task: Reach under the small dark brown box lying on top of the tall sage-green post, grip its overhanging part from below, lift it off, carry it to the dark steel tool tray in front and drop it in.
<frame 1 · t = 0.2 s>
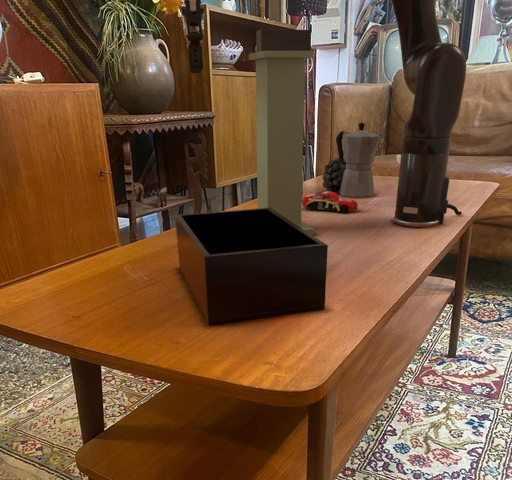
hand: (196, 72, 93), 29 cm above the table, tool pointing down, fingers open, 8 cm apart
pill bottle: (292, 201, 133), on the table
rabbit: (416, 203, 129), on the table
dark brown box: (279, 52, 92), point 32 cm above the table, touching post
coffeepot: (353, 194, 140), on the table
fruit: (333, 191, 146), on the table
post: (278, 230, 106), on the table
tool tray: (244, 287, 76), on the table
race car: (329, 210, 123), on the table
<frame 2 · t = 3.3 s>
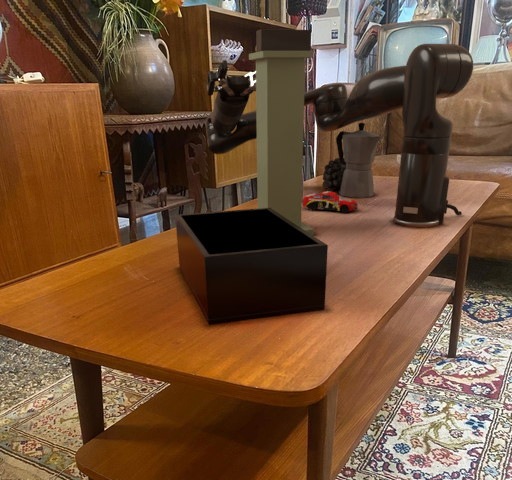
hand: (244, 64, 113), 31 cm above the table, tool pointing upward, fingers open, 8 cm apart
nothing on the table moved.
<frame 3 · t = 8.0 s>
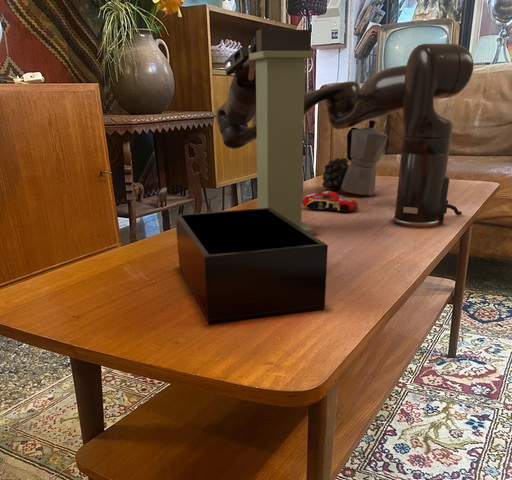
hand: (267, 38, 97), 35 cm above the table, tool pointing upward, fingers closed on dark brown box, 2 cm apart
dark brown box: (279, 52, 92), point 32 cm above the table, touching gripper, post
coffeepot: (354, 192, 140), point 1 cm above the table, touching arm
everything else where it was.
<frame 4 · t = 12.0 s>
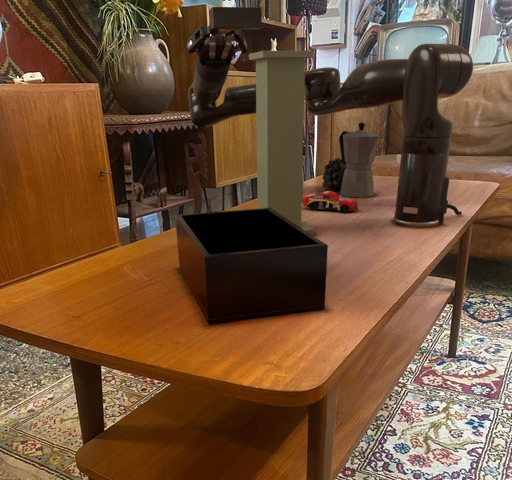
hand: (224, 17, 102), 39 cm above the table, tool pointing upward, fingers closed on dark brown box, 2 cm apart
dark brown box: (233, 29, 97), point 36 cm above the table, touching gripper
coffeepot: (354, 194, 141), on the table
everything else where it was.
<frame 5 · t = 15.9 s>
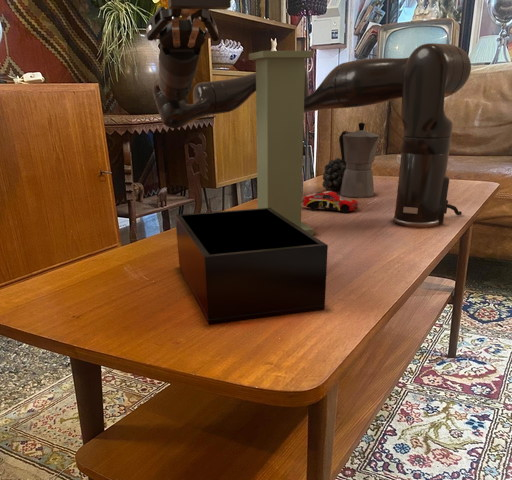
dark brown box: (197, 9, 80), point 37 cm above the table, touching gripper
everything else where it was.
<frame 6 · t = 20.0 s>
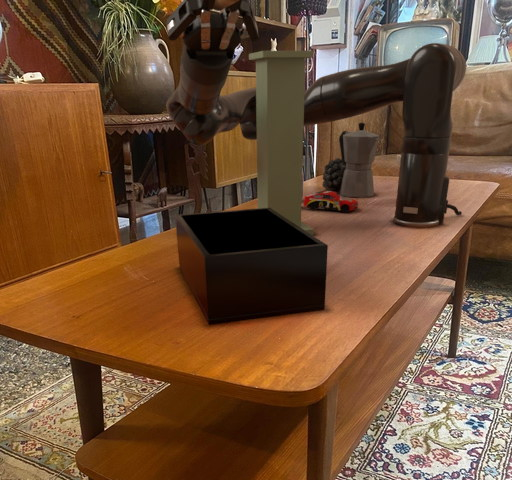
when the fingers open (25 cm above the table, at t = 23.9 s): dark brown box drops 22 cm, resting on tool tray.
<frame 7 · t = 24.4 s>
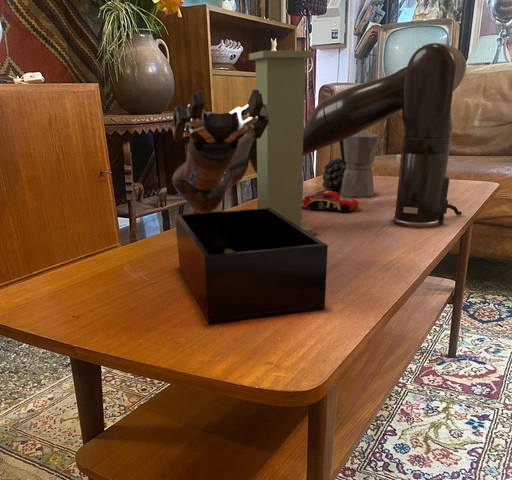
hand: (229, 96, 70), 25 cm above the table, tool pointing upward, fingers open, 7 cm apart
dark brown box: (247, 286, 75), point 1 cm above the table, touching tool tray
everything else where it was.
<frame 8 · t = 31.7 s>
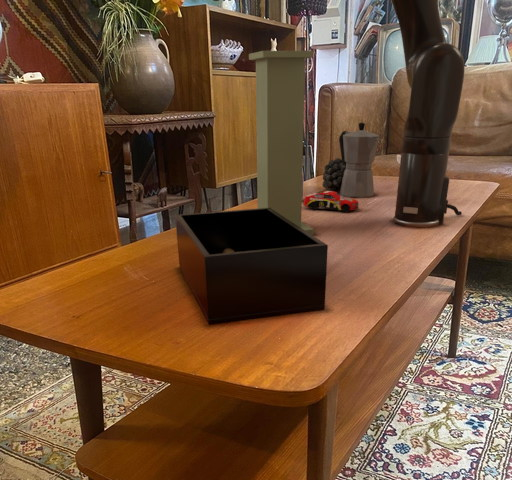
nothing on the table moved.
at the end: dark brown box inside the target area in the tool tray (1.7 cm from its centre), point 0.8 cm above the tool tray's base; the gripper is holding nothing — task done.
